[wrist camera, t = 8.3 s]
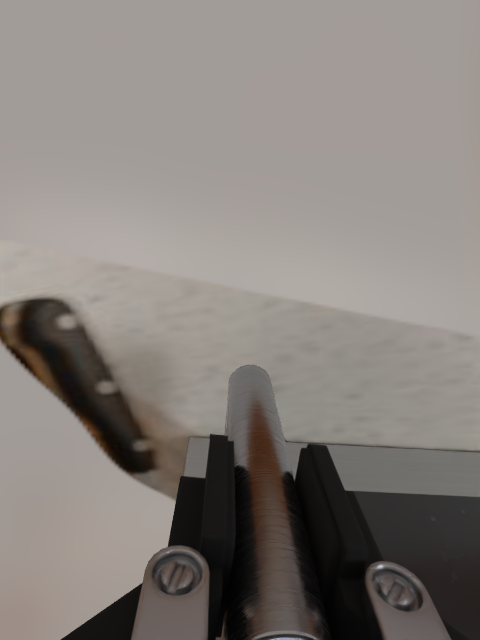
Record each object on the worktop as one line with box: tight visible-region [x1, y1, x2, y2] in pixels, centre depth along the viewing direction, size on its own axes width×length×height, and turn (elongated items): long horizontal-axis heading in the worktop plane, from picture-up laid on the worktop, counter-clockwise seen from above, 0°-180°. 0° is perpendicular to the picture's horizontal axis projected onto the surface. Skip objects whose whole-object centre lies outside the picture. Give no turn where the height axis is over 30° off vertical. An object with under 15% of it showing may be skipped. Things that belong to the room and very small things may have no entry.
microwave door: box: [183, 365, 480, 640], centre depth 14 cm, size 8×22×20 cm, turn 85°
